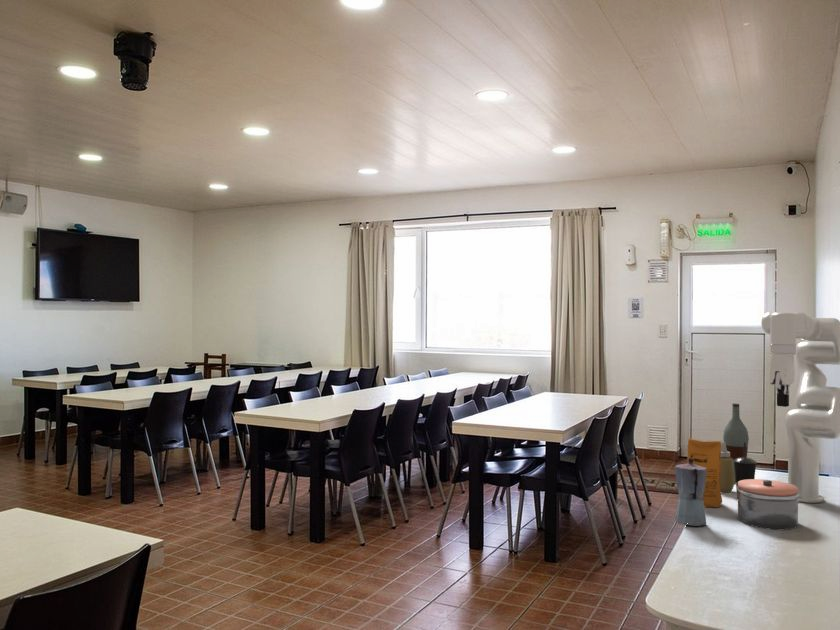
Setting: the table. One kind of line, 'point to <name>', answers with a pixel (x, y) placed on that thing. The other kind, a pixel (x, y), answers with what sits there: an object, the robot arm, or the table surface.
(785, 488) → the lid
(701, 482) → the moka pot
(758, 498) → the cooker pot
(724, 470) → the squeeze bottle
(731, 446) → the green wine bottle
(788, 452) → the robot arm
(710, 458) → the coffee package
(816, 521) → the table surface
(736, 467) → the drinking cup
